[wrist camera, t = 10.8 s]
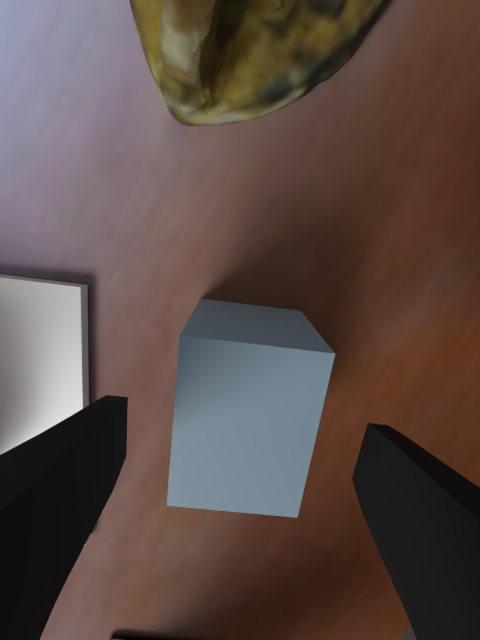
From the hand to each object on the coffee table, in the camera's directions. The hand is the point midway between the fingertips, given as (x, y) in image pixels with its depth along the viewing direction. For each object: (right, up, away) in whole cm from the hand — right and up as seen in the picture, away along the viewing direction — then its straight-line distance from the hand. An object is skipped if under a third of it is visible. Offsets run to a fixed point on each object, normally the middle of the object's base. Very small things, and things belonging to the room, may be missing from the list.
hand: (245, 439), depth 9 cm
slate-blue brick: (0, +1, +5) cm, 5 cm away
